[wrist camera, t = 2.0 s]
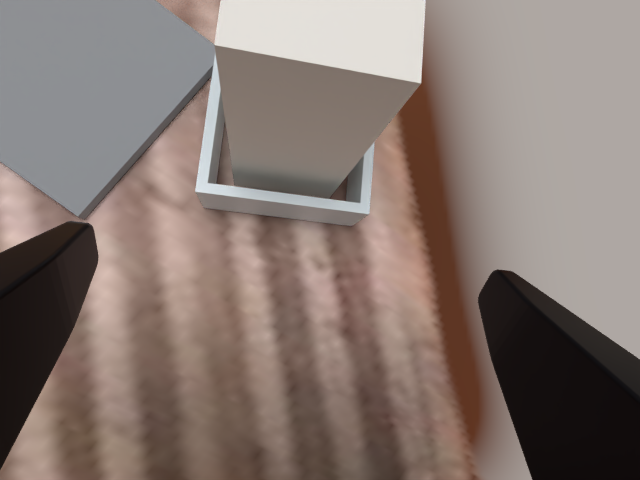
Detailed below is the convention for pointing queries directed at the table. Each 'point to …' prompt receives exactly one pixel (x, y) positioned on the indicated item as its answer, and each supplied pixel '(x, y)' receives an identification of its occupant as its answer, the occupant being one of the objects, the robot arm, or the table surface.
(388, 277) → the table surface
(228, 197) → the sleeve
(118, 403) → the table surface
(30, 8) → the mat
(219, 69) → the tall block
